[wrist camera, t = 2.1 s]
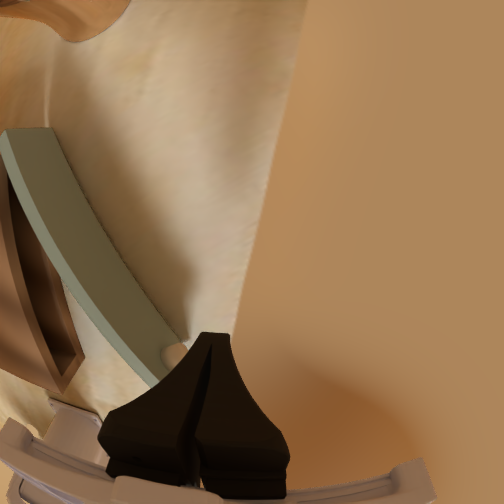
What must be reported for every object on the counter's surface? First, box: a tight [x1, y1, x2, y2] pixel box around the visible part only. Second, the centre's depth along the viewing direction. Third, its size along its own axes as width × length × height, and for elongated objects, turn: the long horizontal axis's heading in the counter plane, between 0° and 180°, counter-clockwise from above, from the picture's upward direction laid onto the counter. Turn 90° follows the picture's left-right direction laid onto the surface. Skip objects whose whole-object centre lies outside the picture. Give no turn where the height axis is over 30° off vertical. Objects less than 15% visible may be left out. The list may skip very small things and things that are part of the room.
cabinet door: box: [0, 128, 188, 388], centre depth 14 cm, size 19×2×5 cm, turn 27°
